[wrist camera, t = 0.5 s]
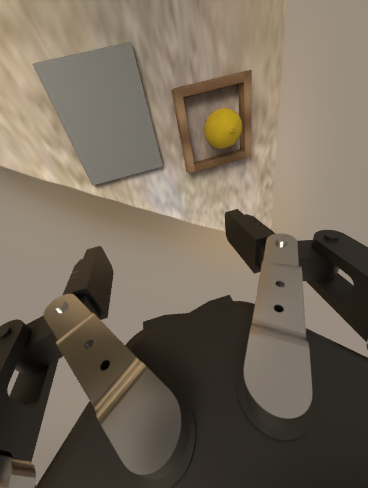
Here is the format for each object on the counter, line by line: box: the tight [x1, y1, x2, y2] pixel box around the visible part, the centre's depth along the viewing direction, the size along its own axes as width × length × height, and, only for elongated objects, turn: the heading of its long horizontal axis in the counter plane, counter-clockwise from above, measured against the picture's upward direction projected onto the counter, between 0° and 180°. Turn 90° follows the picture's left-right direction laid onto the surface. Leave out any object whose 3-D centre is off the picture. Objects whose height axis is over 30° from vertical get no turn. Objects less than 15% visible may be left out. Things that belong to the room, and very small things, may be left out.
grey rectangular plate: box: [33, 42, 163, 186], centre depth 29 cm, size 16×13×1 cm
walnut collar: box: [171, 70, 251, 173], centre depth 32 cm, size 12×12×2 cm
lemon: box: [204, 108, 242, 148], centre depth 30 cm, size 6×6×8 cm
